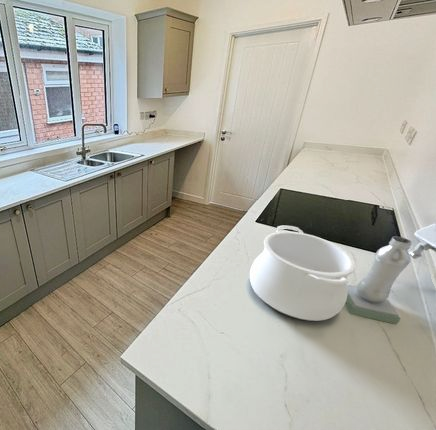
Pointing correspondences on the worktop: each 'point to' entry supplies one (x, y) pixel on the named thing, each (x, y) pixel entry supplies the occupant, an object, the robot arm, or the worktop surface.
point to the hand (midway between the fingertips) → (426, 266)
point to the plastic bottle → (385, 270)
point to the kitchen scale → (370, 307)
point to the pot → (302, 275)
